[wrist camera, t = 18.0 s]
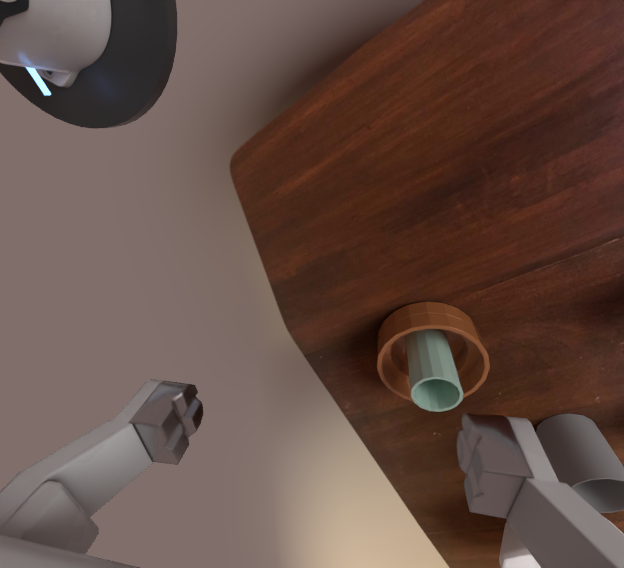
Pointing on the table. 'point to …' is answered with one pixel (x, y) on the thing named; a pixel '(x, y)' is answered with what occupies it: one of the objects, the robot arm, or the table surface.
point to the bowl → (517, 551)
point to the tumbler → (432, 371)
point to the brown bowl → (430, 316)
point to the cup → (583, 460)
